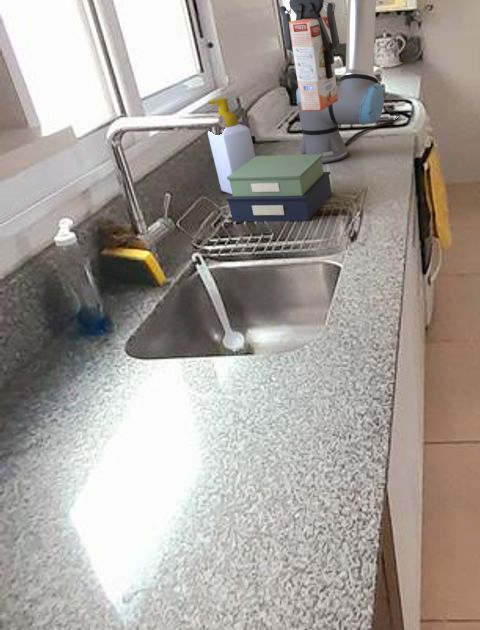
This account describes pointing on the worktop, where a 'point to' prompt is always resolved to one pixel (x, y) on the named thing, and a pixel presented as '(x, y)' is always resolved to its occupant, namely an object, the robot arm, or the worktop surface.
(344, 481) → the worktop surface
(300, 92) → the cracker box
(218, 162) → the soap bottle
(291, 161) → the box stack
